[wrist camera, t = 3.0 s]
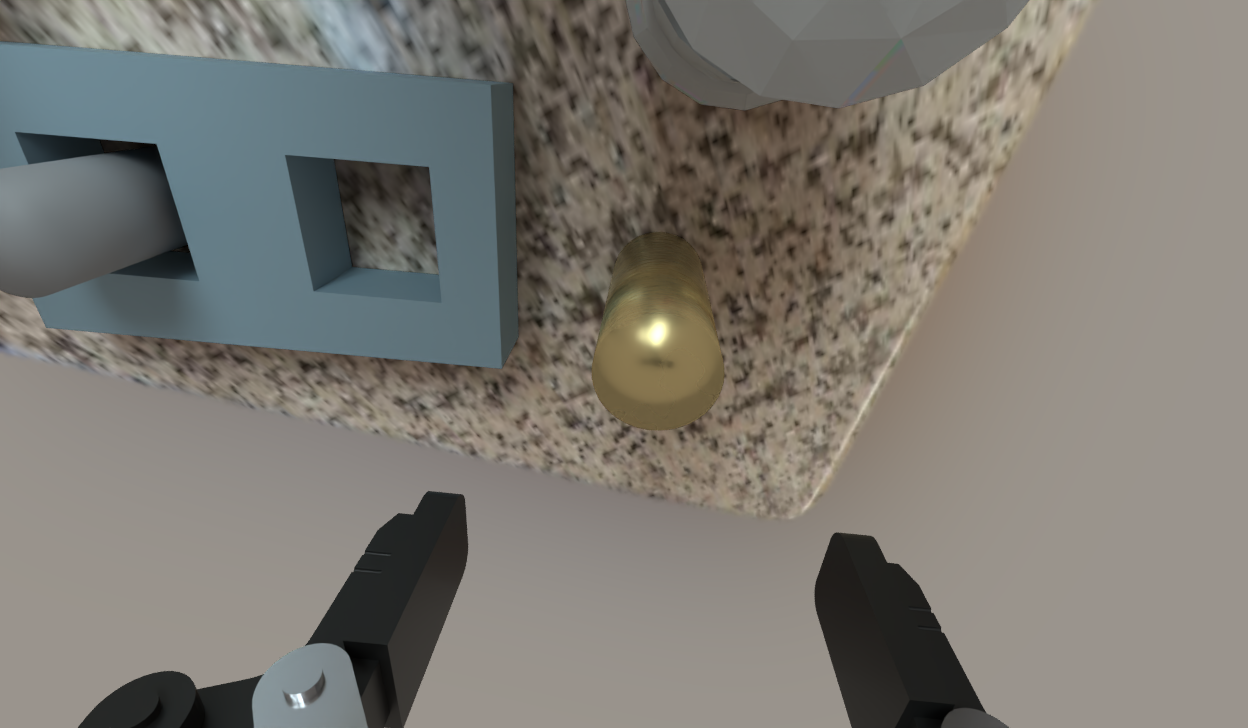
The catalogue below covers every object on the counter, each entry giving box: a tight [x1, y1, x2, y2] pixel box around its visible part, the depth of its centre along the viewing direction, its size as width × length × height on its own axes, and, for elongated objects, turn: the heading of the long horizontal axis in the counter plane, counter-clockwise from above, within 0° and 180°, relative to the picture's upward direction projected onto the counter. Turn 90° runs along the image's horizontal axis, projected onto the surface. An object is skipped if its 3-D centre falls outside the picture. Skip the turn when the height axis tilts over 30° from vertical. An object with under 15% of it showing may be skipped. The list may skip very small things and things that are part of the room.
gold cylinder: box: [592, 232, 724, 430], centre depth 23 cm, size 4×4×10 cm
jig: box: [0, 41, 518, 369], centre depth 23 cm, size 12×22×8 cm, turn 86°
